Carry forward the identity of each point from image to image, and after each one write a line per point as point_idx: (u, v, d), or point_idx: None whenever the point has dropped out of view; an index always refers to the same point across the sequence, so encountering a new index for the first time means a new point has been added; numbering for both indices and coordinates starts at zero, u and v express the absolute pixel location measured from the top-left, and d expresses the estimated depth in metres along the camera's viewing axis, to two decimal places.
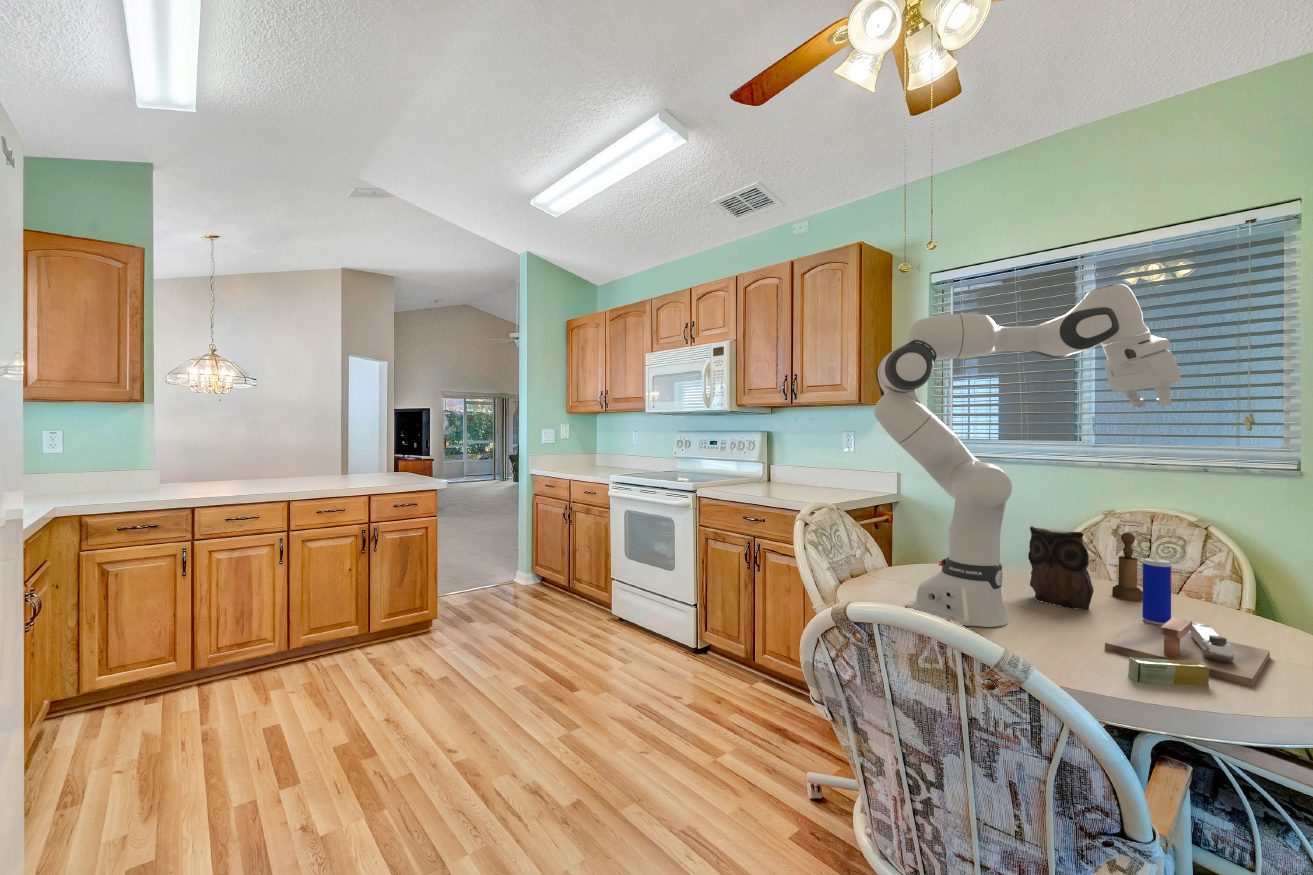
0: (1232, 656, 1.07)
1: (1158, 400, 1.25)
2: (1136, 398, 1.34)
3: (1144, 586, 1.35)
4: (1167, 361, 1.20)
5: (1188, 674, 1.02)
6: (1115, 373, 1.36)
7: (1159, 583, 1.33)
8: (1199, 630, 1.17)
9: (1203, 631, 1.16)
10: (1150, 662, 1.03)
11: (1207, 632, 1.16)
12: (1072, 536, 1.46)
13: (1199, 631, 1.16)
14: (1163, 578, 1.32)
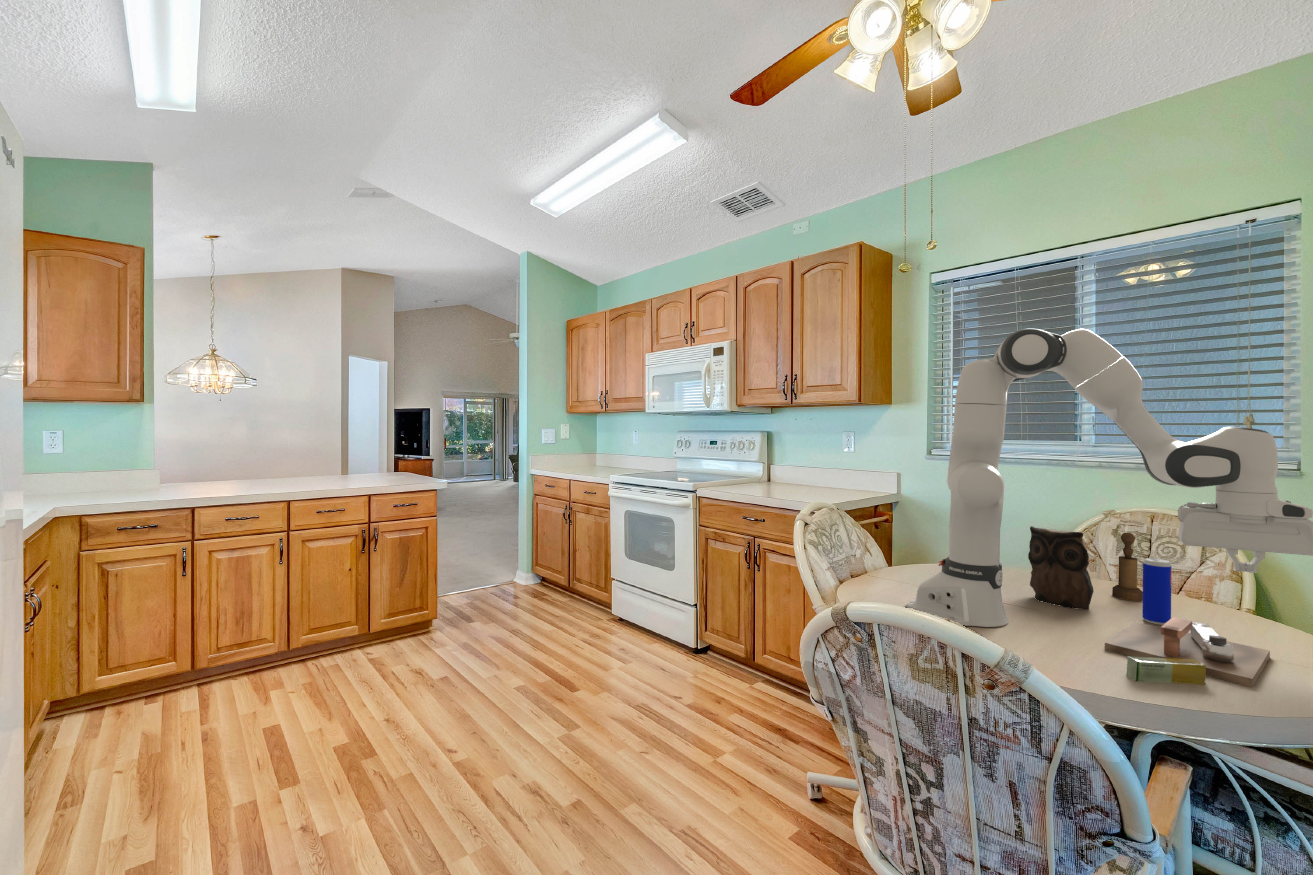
0: (1232, 656, 1.07)
1: (1251, 565, 1.15)
2: (1237, 560, 1.16)
3: (1144, 586, 1.35)
4: None
5: (1186, 672, 1.02)
6: (1209, 524, 1.18)
7: (1159, 583, 1.33)
8: (1199, 630, 1.17)
9: (1203, 631, 1.16)
10: (1148, 661, 1.04)
11: (1207, 632, 1.16)
12: (1072, 536, 1.46)
13: (1199, 631, 1.16)
14: (1163, 578, 1.32)
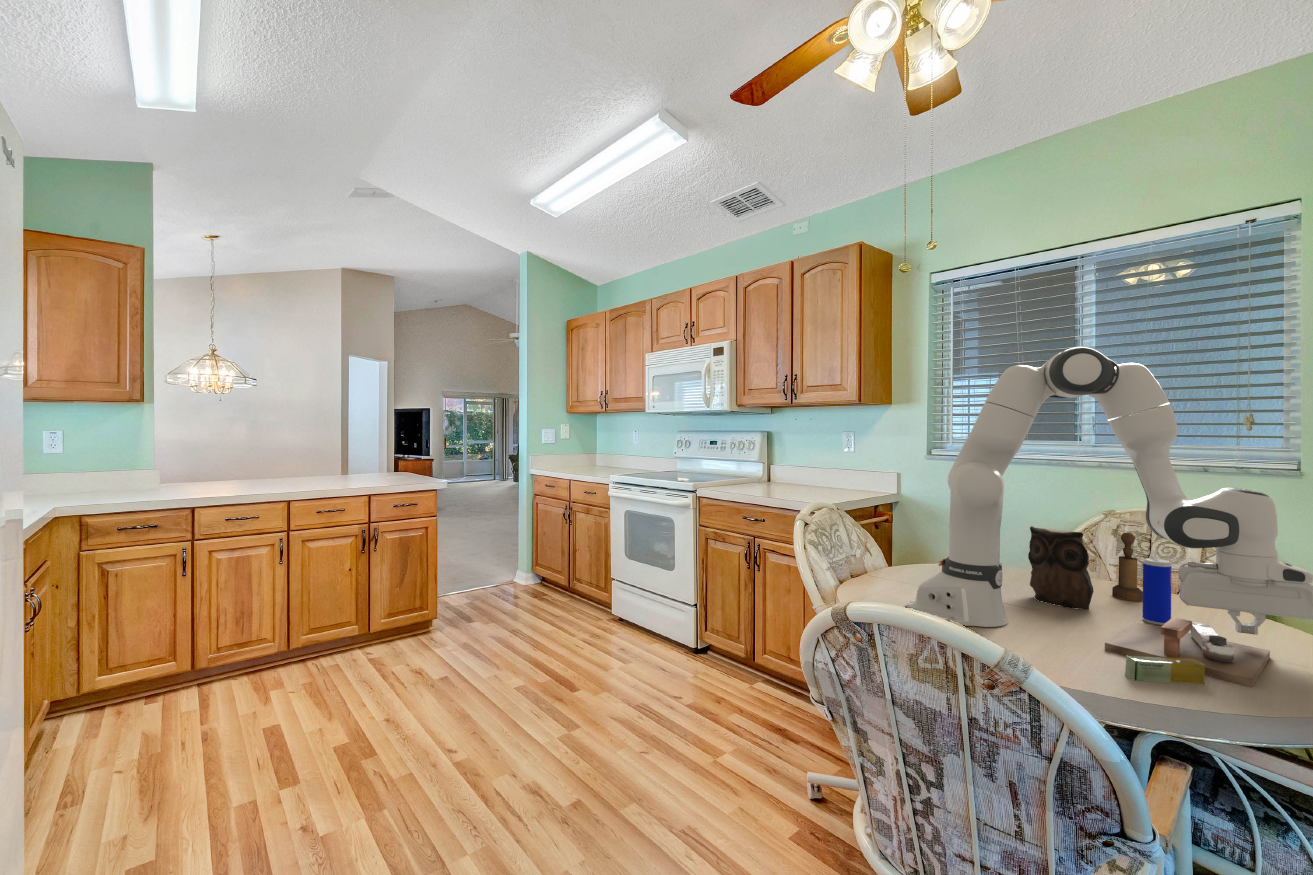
0: (1232, 656, 1.07)
1: (1252, 627, 1.15)
2: (1239, 621, 1.16)
3: (1144, 586, 1.35)
4: None
5: (1185, 672, 1.03)
6: (1209, 585, 1.18)
7: (1159, 583, 1.33)
8: (1199, 630, 1.17)
9: (1203, 631, 1.16)
10: (1147, 660, 1.04)
11: (1207, 632, 1.16)
12: (1072, 536, 1.46)
13: (1199, 631, 1.16)
14: (1163, 578, 1.32)
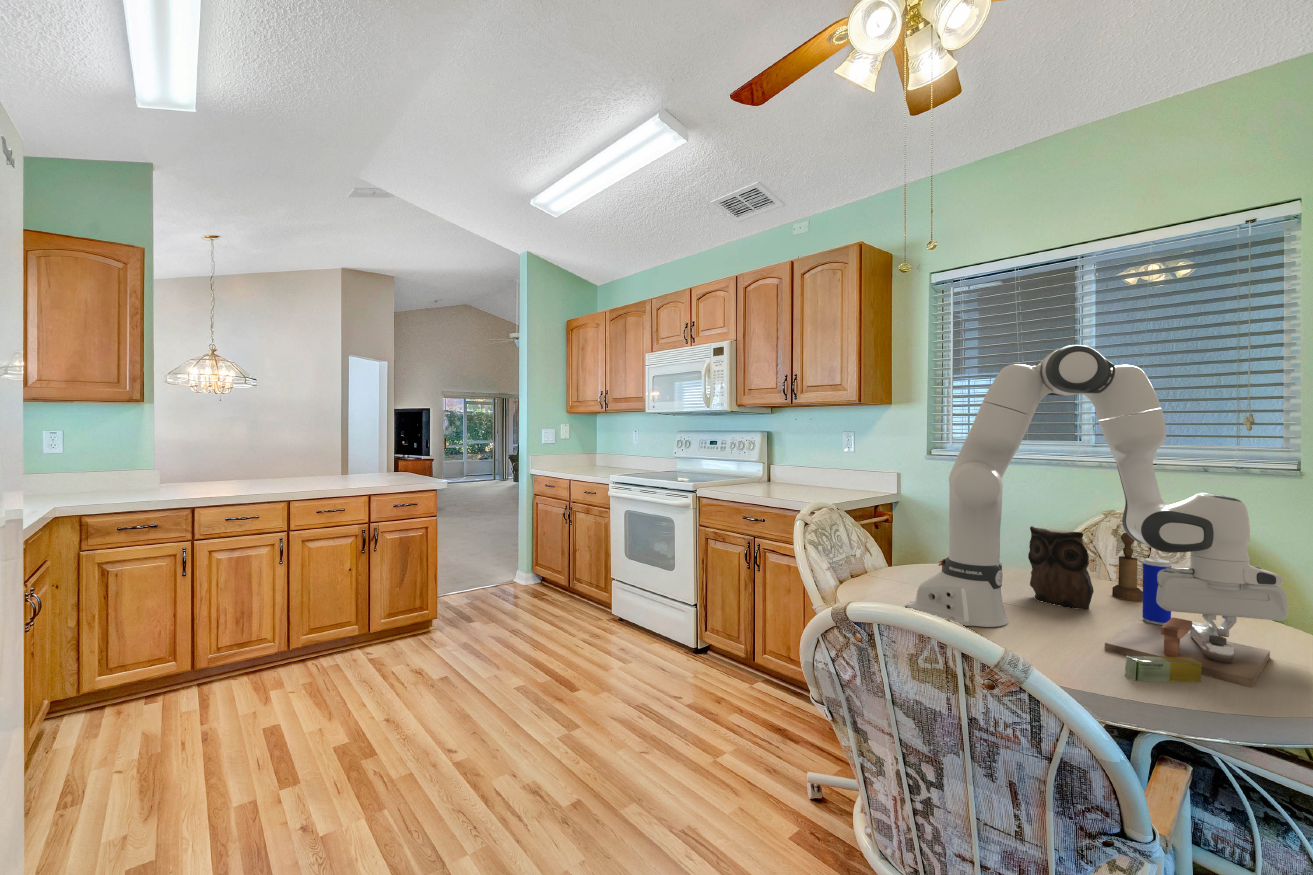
0: (1232, 656, 1.07)
1: (1224, 630, 1.17)
2: None
3: (1144, 586, 1.35)
4: None
5: (1182, 671, 1.03)
6: (1188, 590, 1.18)
7: None
8: (1199, 630, 1.17)
9: (1203, 631, 1.16)
10: (1147, 660, 1.04)
11: (1207, 632, 1.16)
12: (1072, 536, 1.46)
13: (1199, 631, 1.16)
14: None
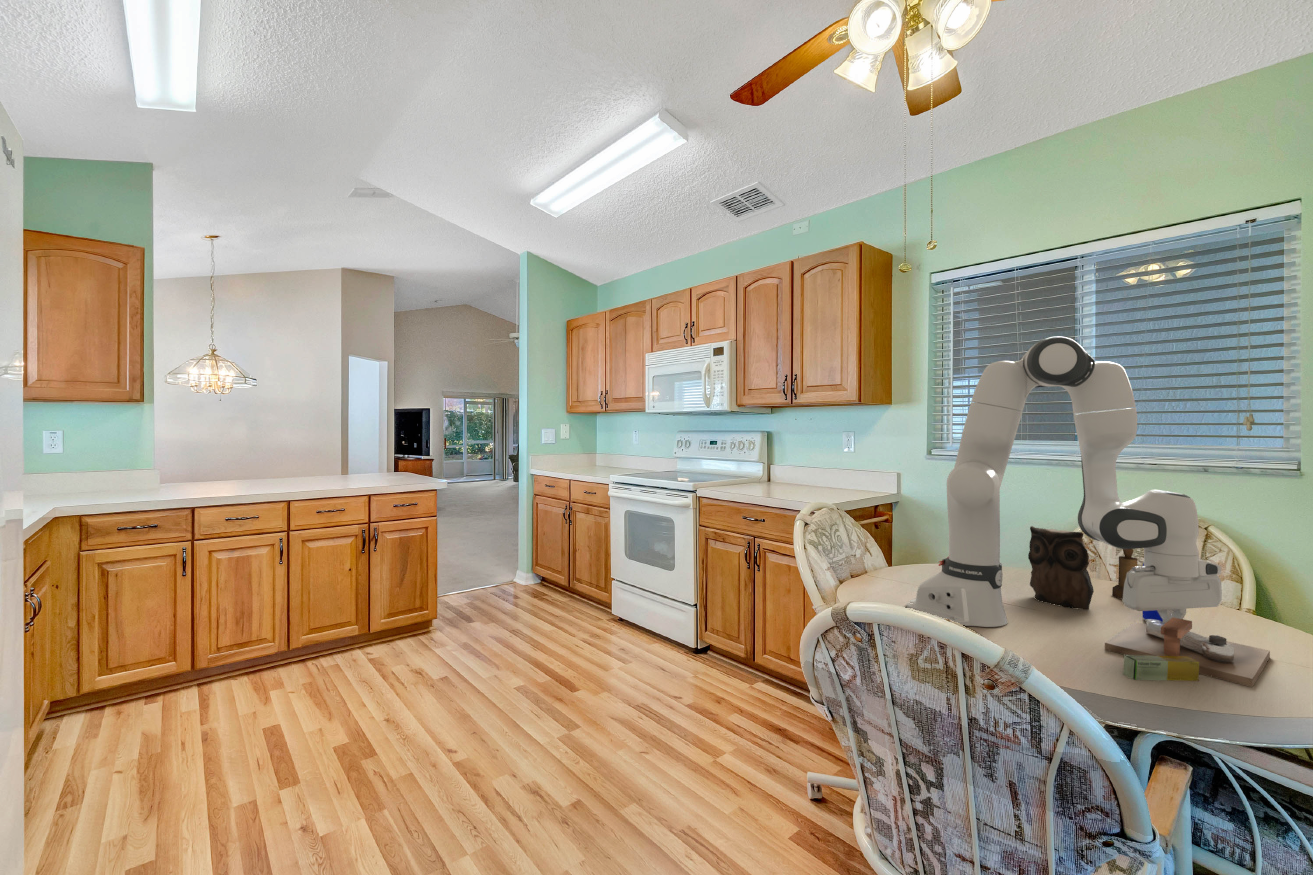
0: None
1: None
2: None
3: None
4: None
5: (1180, 670, 1.04)
6: (1154, 588, 1.19)
7: None
8: None
9: None
10: (1145, 659, 1.04)
11: None
12: (1072, 536, 1.46)
13: None
14: None
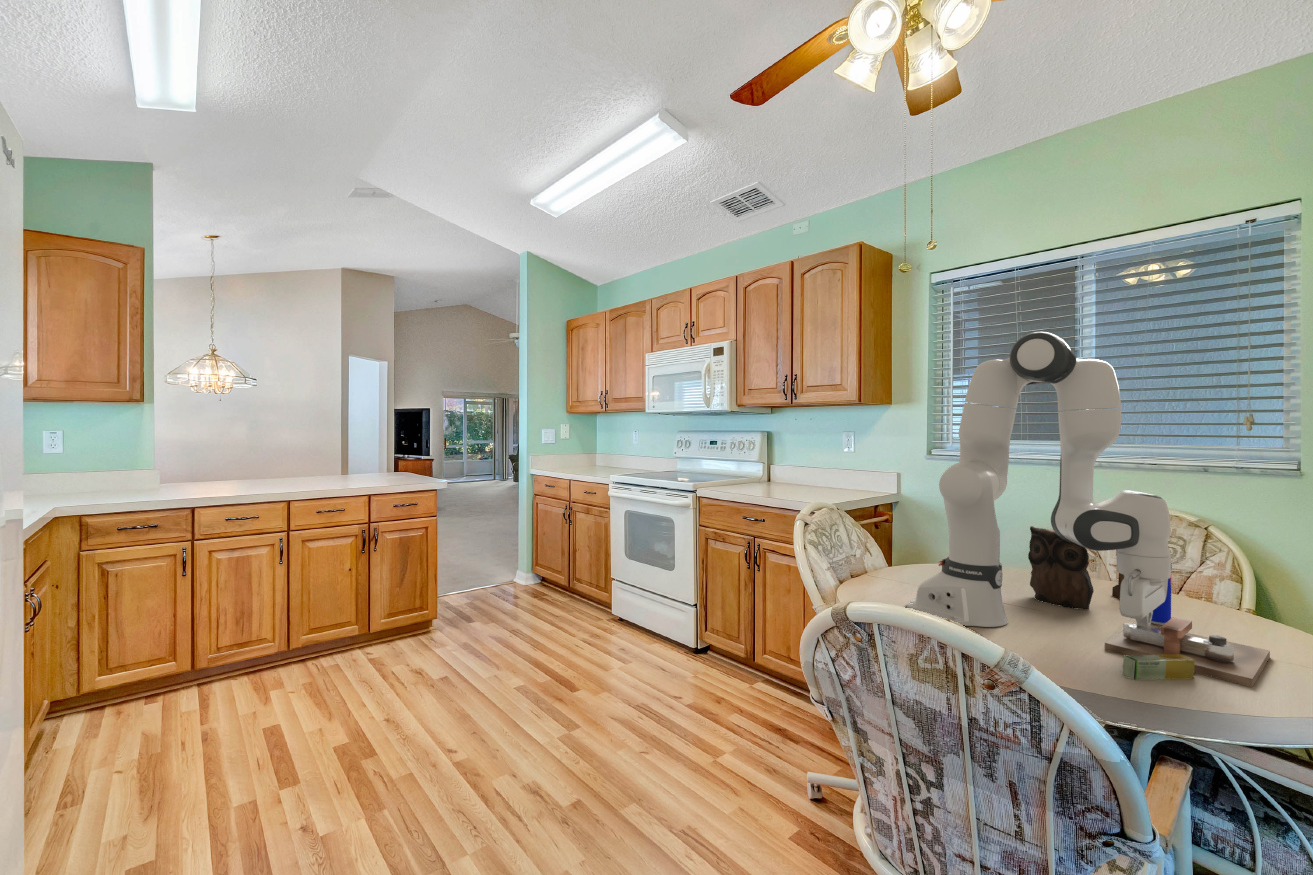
0: None
1: (1149, 623, 1.20)
2: None
3: None
4: None
5: (1177, 668, 1.04)
6: (1145, 593, 1.16)
7: None
8: None
9: None
10: (1144, 659, 1.05)
11: None
12: None
13: None
14: None
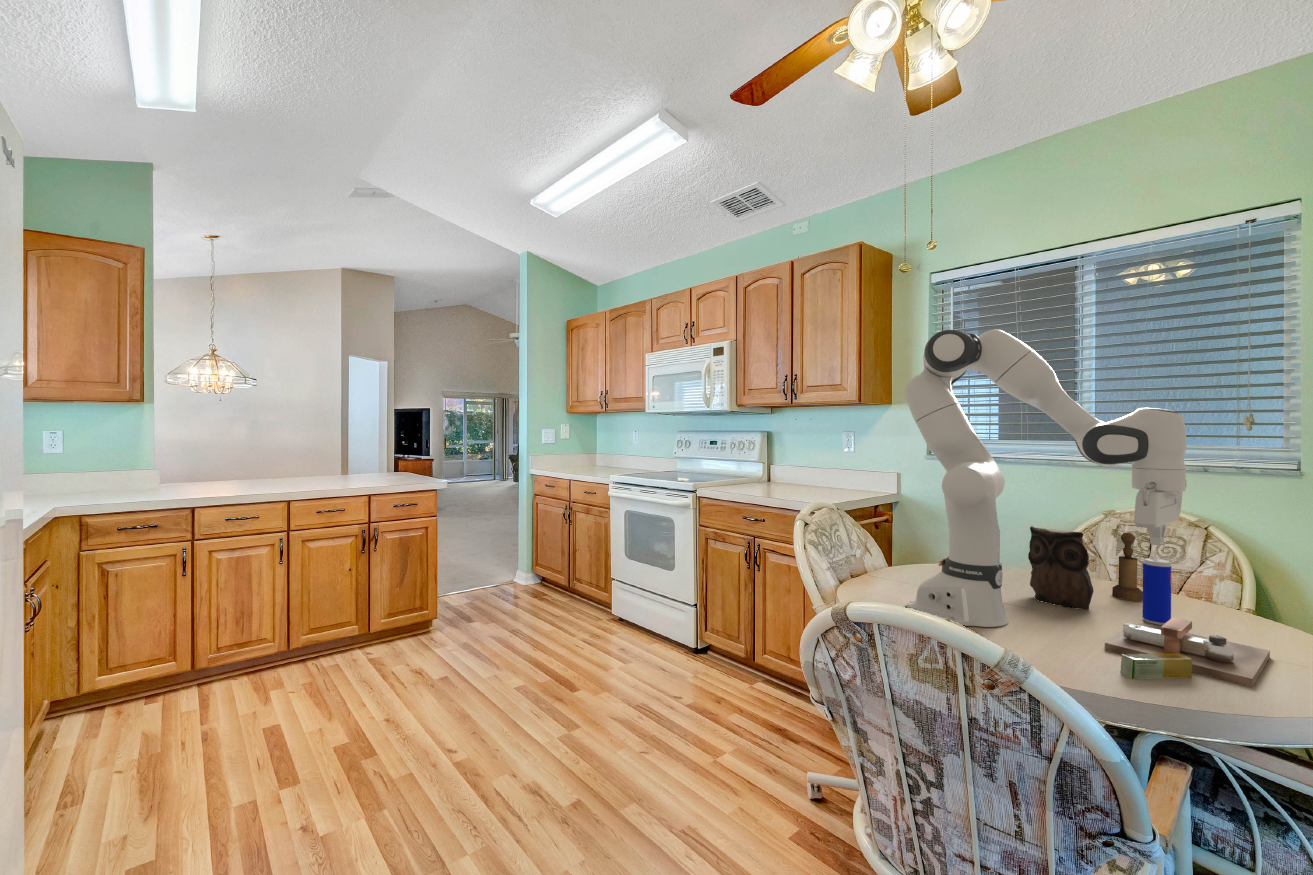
0: None
1: (1163, 537, 1.22)
2: None
3: (1144, 586, 1.35)
4: None
5: (1175, 667, 1.05)
6: (1159, 504, 1.18)
7: (1159, 583, 1.33)
8: None
9: None
10: (1142, 658, 1.05)
11: None
12: (1072, 536, 1.46)
13: None
14: (1163, 578, 1.32)
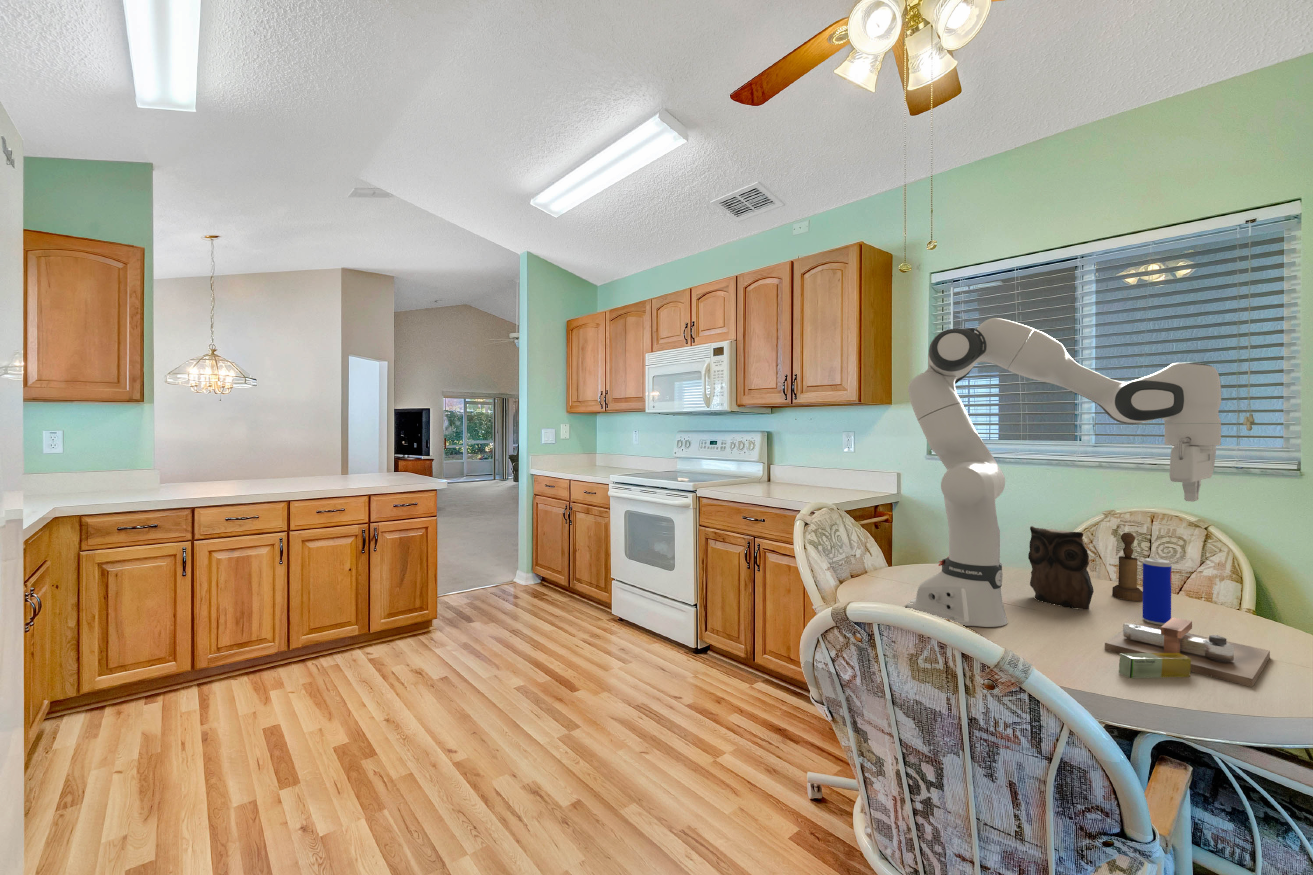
0: None
1: (1197, 494, 1.21)
2: None
3: (1144, 586, 1.35)
4: None
5: (1173, 666, 1.05)
6: None
7: (1159, 583, 1.33)
8: None
9: None
10: (1140, 657, 1.05)
11: None
12: (1072, 536, 1.46)
13: None
14: (1163, 578, 1.32)
